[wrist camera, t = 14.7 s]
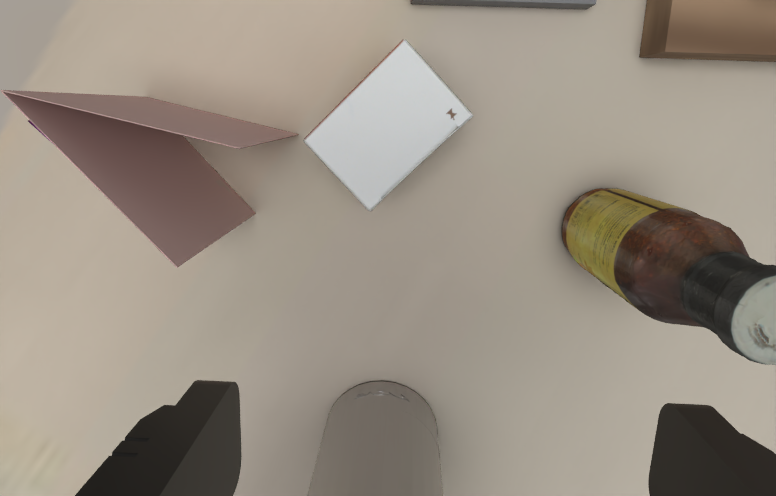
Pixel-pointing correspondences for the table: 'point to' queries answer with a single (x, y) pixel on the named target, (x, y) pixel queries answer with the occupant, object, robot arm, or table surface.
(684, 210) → the sauce bottle
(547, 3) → the rubber mat
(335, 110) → the small box
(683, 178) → the table surface
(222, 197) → the greeting card
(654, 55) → the walnut stand
